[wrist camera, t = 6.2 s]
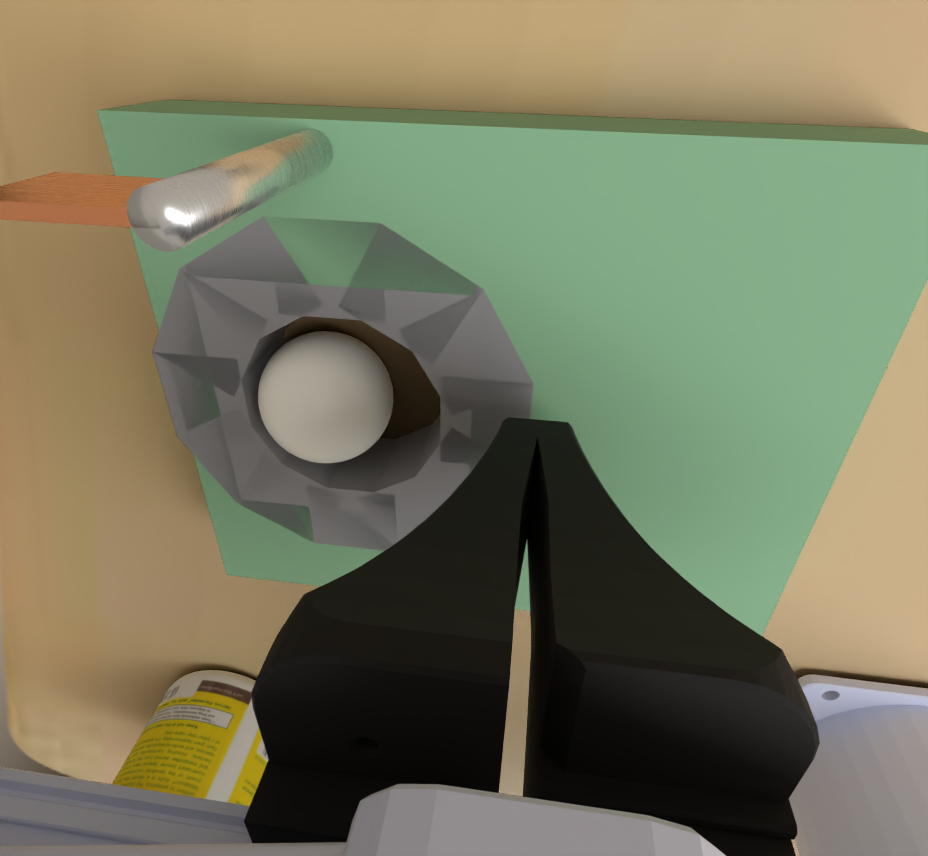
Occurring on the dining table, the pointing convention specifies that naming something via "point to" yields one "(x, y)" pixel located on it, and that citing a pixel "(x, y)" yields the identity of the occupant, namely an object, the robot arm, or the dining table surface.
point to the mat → (544, 318)
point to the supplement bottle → (201, 741)
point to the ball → (325, 397)
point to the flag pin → (172, 192)
